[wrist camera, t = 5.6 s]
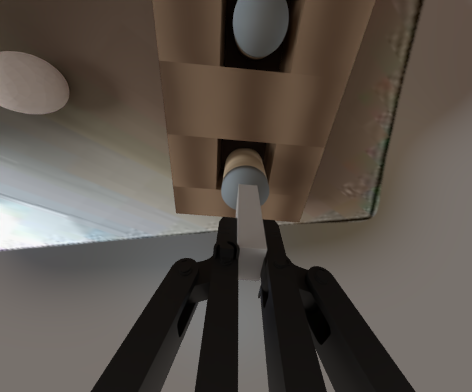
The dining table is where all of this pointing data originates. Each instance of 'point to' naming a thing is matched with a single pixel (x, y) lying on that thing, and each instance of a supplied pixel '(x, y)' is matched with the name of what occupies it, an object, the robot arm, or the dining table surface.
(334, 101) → the walnut board
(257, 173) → the dowel
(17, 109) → the egg
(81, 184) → the dining table surface
